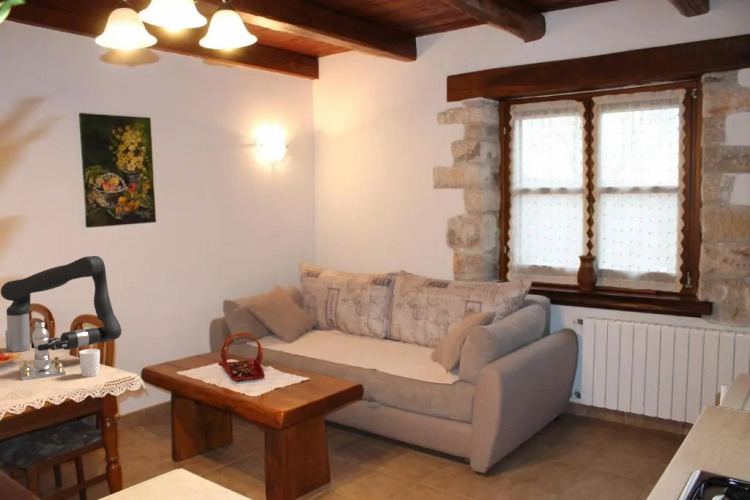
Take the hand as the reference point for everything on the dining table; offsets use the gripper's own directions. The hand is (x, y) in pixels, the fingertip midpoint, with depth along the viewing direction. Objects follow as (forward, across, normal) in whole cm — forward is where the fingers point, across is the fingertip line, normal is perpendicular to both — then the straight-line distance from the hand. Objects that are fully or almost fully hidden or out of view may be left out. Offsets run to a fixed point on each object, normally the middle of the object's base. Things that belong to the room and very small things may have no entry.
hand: (35, 347), depth 272 cm
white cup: (-14, +18, +12) cm, 25 cm away
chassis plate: (-2, 0, +11) cm, 12 cm away
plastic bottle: (-3, 0, +10) cm, 11 cm away
